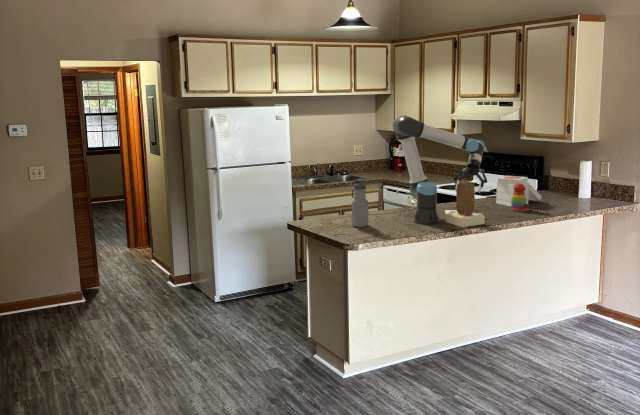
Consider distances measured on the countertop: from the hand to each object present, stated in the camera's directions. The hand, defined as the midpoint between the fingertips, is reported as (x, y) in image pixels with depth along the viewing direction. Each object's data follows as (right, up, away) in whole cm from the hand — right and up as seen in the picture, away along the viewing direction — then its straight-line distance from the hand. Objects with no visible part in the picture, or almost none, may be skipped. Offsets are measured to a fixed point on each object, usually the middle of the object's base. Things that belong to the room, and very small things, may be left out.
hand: (467, 190), depth 366 cm
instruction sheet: (-2, -13, +31) cm, 34 cm away
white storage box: (+49, -7, +60) cm, 77 cm away
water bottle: (-64, -21, 0) cm, 67 cm away
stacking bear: (+42, -12, +35) cm, 56 cm away
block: (-1, -14, +1) cm, 14 cm away
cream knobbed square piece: (-1, -19, +1) cm, 19 cm away
